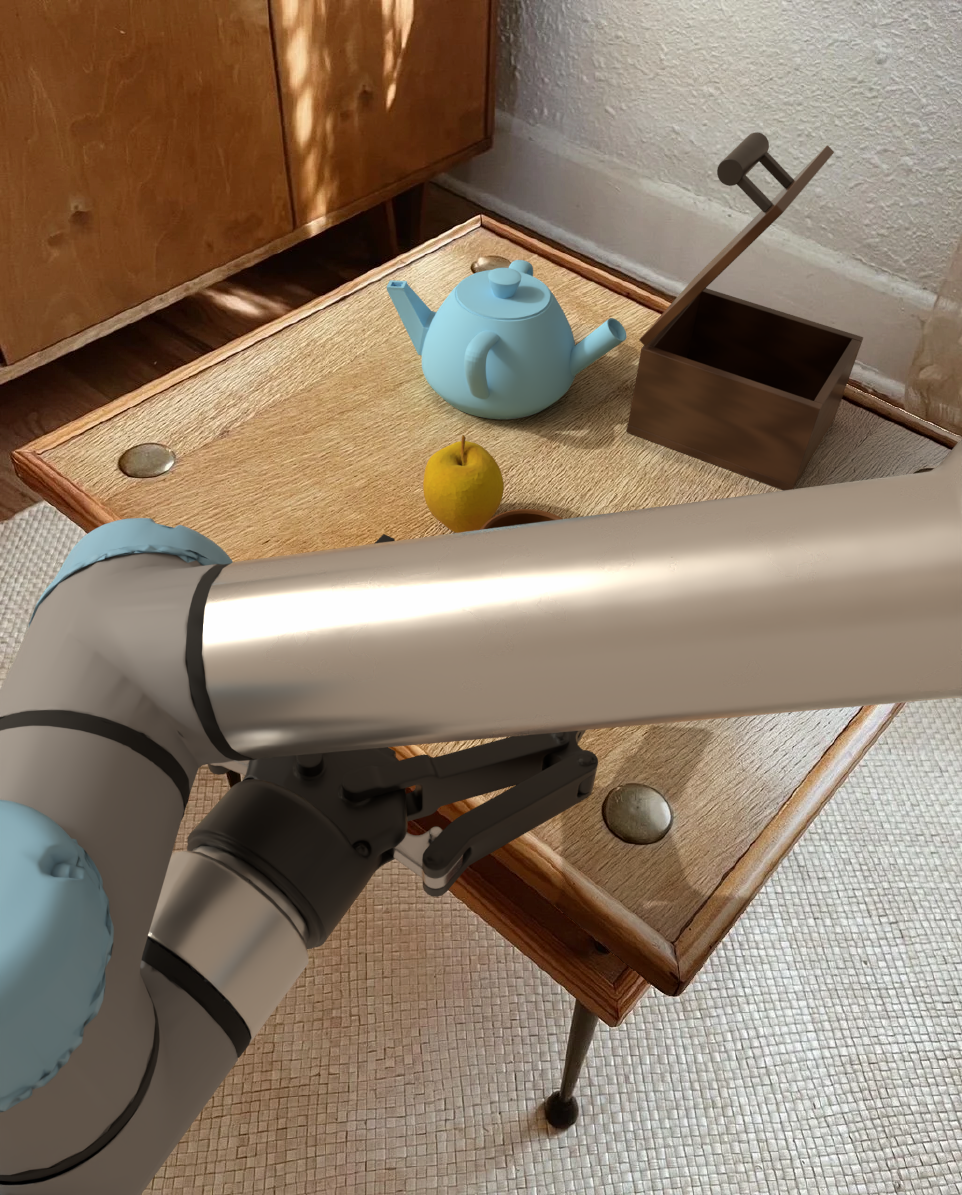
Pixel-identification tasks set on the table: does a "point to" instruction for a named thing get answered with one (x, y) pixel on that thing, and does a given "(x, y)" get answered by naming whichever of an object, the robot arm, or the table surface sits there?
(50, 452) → the table surface
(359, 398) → the table surface
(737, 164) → the lid
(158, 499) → the table surface
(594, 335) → the teapot
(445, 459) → the apple
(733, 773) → the table surface
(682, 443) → the chest
